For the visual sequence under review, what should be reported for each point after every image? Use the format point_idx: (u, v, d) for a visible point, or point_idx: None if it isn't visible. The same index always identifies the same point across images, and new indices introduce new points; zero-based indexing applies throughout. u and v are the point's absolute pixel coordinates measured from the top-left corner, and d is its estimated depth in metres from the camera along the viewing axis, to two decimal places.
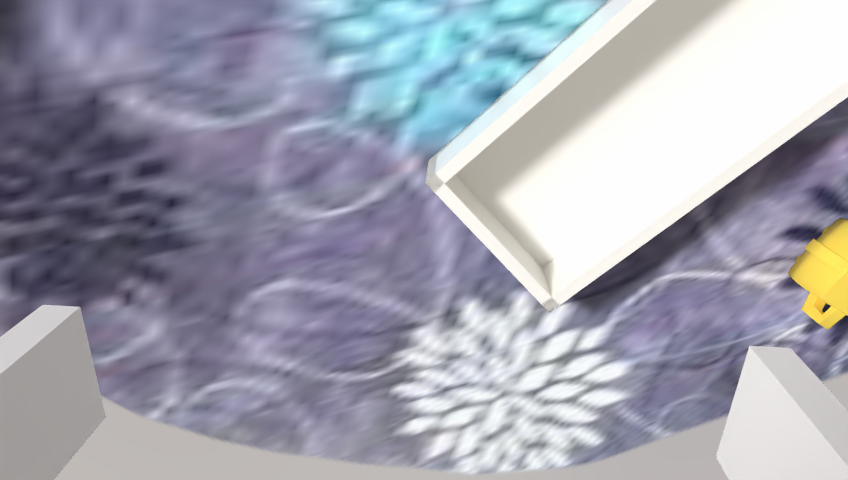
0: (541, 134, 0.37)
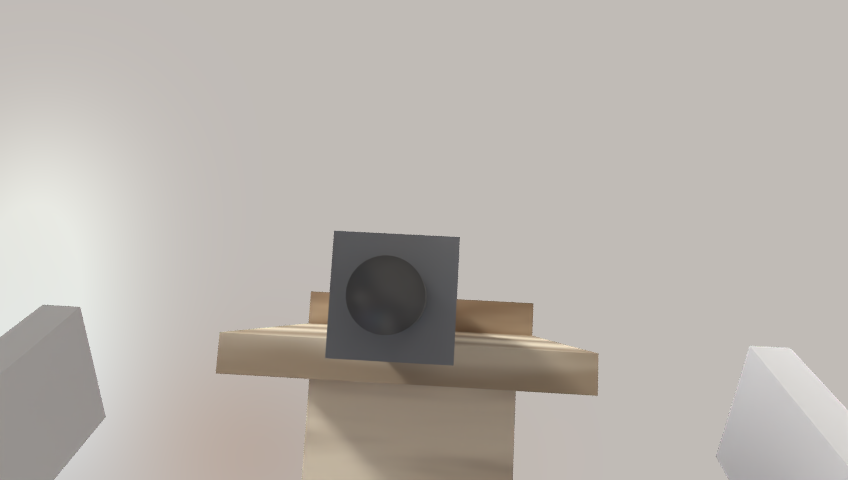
0: None
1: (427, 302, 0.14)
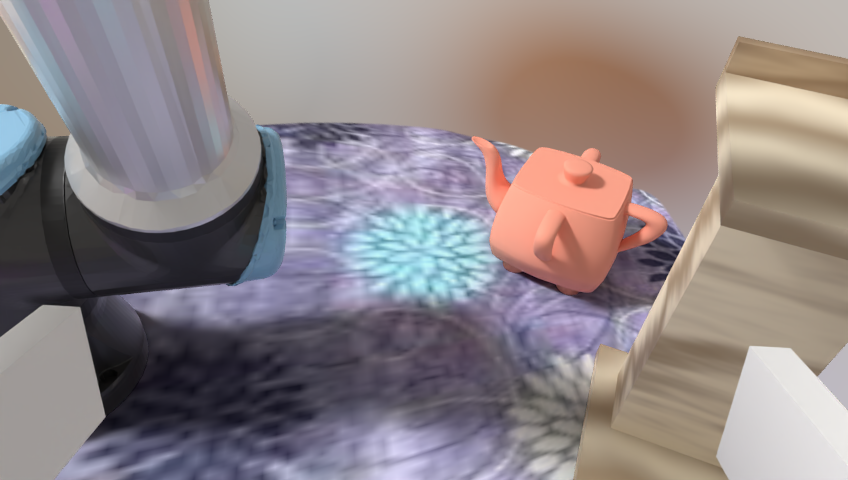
0: None
1: None
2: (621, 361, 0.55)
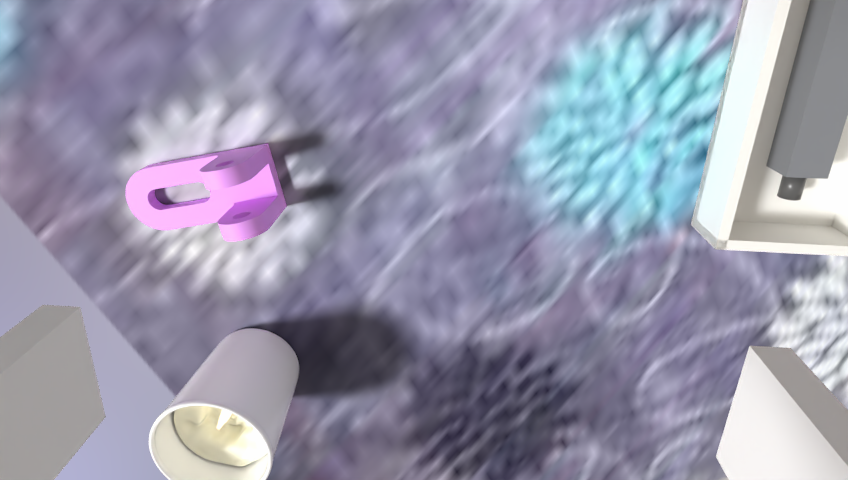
0: (757, 152, 0.45)
1: None
2: None
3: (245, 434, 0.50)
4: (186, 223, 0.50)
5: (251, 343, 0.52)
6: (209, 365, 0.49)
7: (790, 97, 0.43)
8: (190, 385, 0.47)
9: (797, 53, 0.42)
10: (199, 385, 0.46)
